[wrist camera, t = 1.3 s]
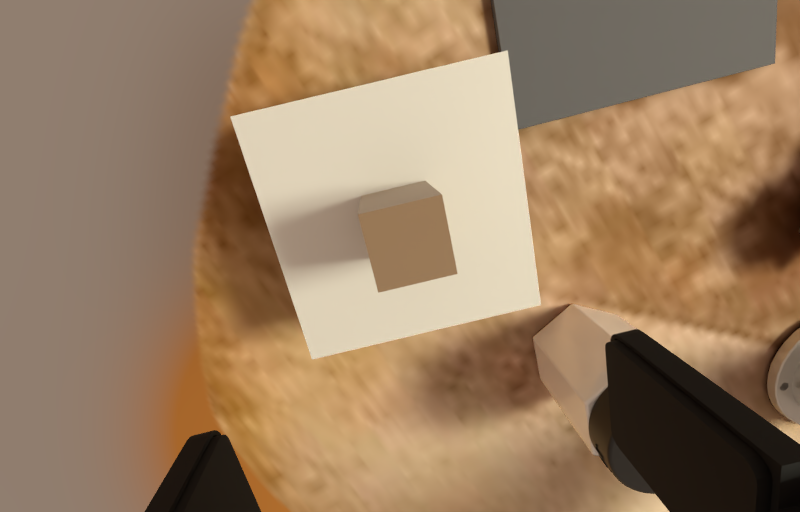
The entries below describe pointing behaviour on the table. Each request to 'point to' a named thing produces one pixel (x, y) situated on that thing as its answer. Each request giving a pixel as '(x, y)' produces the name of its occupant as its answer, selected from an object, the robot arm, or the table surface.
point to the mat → (624, 49)
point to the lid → (396, 203)
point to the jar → (585, 381)
